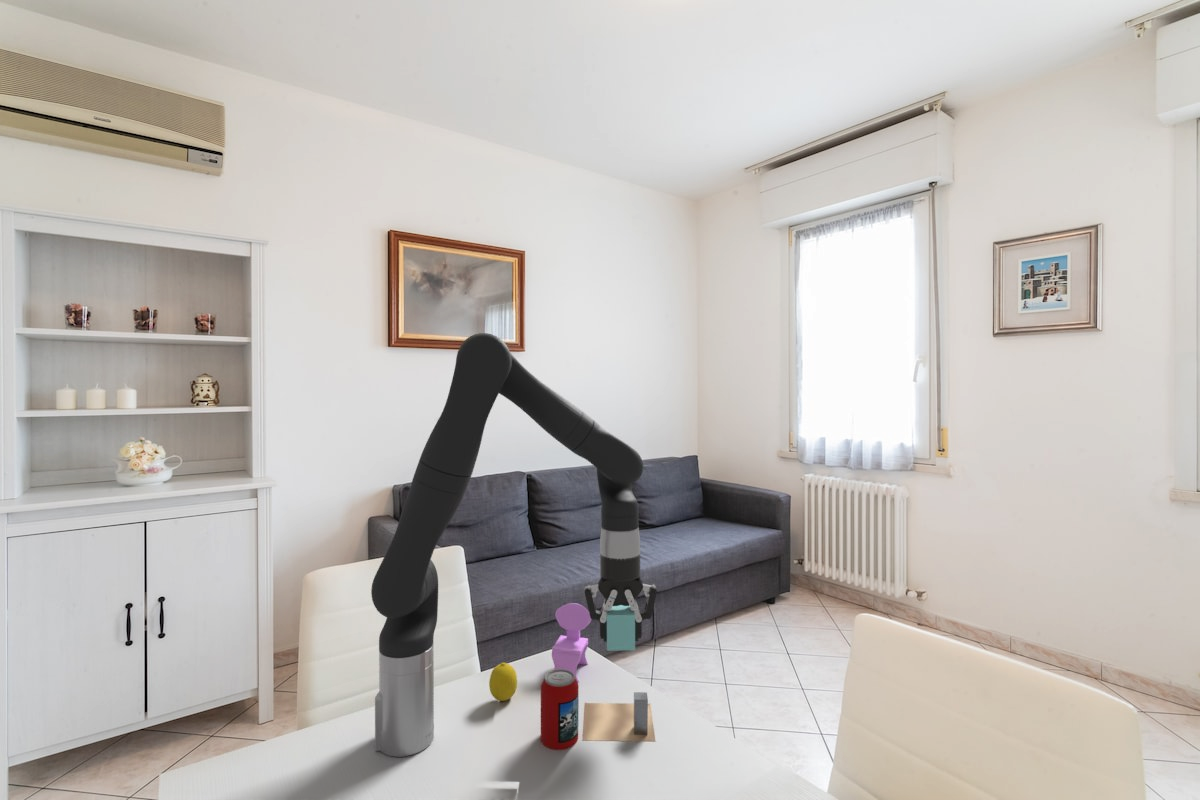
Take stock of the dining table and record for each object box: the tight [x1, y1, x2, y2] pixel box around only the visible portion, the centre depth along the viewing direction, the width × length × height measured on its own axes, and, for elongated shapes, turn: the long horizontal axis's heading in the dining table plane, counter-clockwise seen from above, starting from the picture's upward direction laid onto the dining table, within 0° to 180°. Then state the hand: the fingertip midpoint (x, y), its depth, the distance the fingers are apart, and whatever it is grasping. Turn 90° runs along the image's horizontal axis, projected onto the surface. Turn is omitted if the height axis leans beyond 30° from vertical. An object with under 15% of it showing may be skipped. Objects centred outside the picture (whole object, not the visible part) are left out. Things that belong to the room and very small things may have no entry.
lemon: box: [488, 662, 518, 702], centre depth 116 cm, size 6×6×8 cm
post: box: [633, 691, 649, 735], centre depth 106 cm, size 2×2×6 cm
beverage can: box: [540, 669, 580, 751], centre depth 103 cm, size 7×7×12 cm
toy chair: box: [551, 602, 592, 683], centre depth 127 cm, size 8×9×15 cm
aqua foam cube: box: [606, 605, 636, 652], centre depth 109 cm, size 5×5×7 cm
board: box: [582, 702, 656, 742], centre depth 109 cm, size 13×12×1 cm
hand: (620, 639), depth 109 cm, fingers closed on aqua foam cube, 5 cm apart
